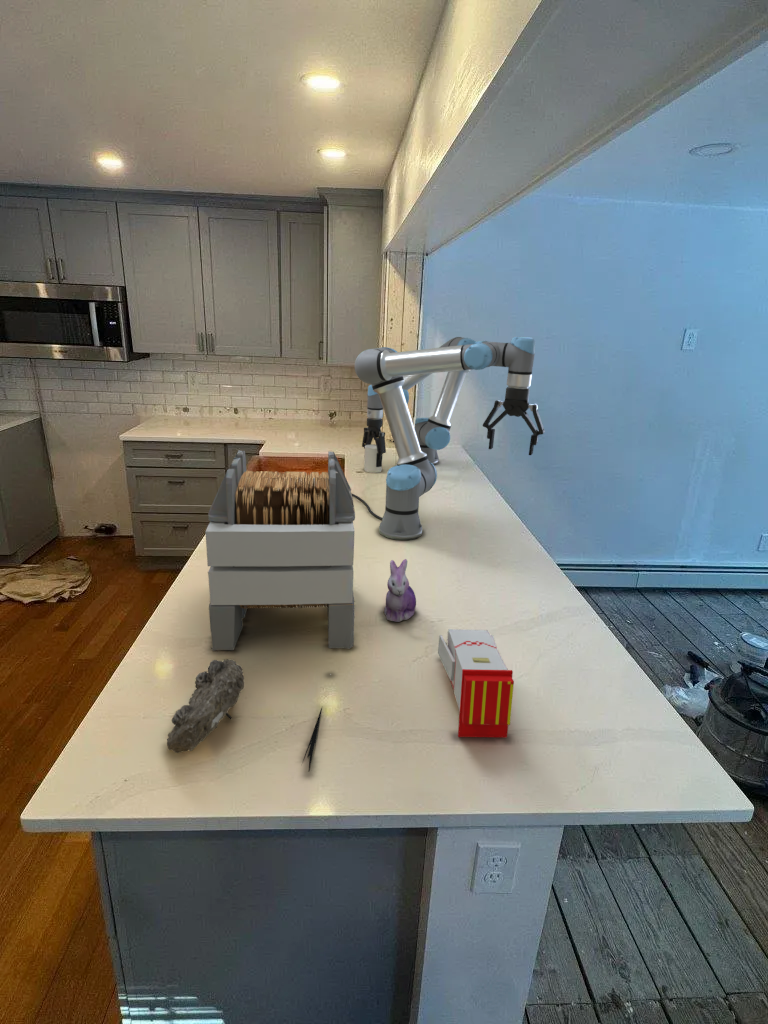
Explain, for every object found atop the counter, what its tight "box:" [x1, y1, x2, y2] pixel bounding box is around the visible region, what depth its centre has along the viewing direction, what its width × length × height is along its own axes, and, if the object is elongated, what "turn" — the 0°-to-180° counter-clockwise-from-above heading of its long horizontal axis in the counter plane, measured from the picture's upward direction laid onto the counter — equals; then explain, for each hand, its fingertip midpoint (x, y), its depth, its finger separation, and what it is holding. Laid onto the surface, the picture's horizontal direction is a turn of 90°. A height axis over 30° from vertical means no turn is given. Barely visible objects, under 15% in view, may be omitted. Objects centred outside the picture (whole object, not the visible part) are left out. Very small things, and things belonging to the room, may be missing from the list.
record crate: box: [204, 449, 356, 652], centre depth 138 cm, size 34×33×41 cm
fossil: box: [166, 658, 245, 754], centre depth 106 cm, size 22×10×15 cm
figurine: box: [384, 558, 417, 623], centre depth 145 cm, size 9×10×15 cm
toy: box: [437, 628, 515, 738], centre depth 117 cm, size 12×13×30 cm
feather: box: [301, 673, 332, 771], centre depth 108 cm, size 2×28×2 cm
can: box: [363, 443, 383, 474], centre depth 274 cm, size 8×8×12 cm
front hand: (510, 451), depth 190 cm, fingers open, 13 cm apart
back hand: (373, 464), depth 275 cm, fingers closed on can, 9 cm apart
